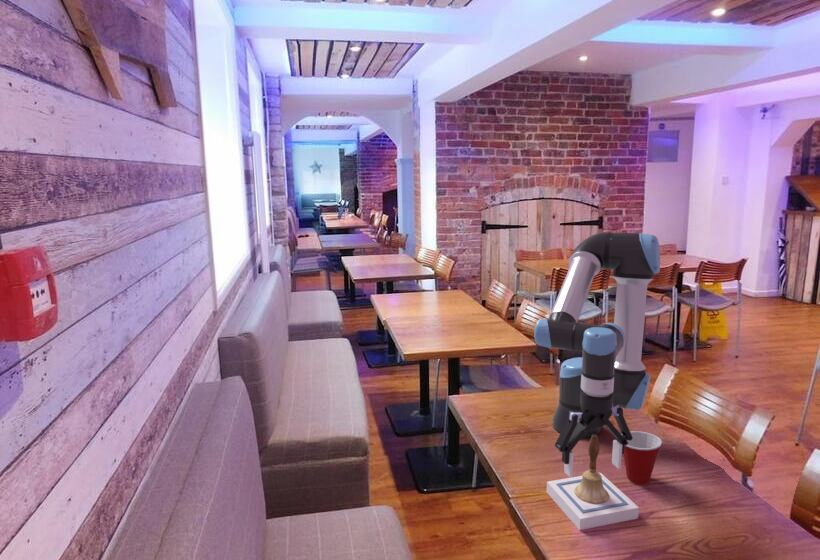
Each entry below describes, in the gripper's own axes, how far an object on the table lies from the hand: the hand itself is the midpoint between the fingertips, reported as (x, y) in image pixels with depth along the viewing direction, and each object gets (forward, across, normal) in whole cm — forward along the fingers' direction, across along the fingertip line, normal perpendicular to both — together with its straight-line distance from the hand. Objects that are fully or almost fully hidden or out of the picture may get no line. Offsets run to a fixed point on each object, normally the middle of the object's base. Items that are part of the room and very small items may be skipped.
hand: (592, 470), depth 135 cm
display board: (+10, 0, 0) cm, 10 cm away
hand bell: (+7, 0, 0) cm, 7 cm away
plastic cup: (+10, +19, +7) cm, 22 cm away
